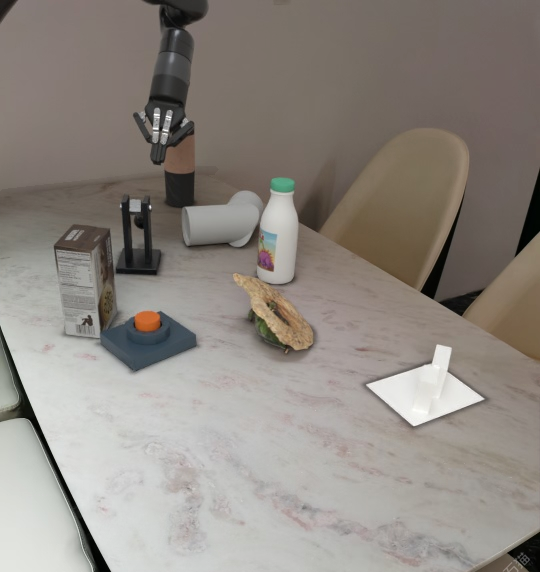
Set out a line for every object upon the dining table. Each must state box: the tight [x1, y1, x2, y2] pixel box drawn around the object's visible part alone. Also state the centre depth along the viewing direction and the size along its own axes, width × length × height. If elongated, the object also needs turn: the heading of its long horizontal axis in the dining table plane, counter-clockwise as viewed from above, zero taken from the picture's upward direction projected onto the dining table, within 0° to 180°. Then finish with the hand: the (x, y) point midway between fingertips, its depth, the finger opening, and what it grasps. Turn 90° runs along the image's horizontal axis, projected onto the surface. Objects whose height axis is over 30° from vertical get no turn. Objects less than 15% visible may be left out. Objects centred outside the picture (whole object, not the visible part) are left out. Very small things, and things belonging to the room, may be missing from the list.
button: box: [134, 310, 160, 332], centre depth 96 cm, size 4×4×2 cm
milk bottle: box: [256, 176, 299, 285], centre depth 117 cm, size 8×8×20 cm
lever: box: [129, 198, 144, 230], centre depth 122 cm, size 13×4×4 cm
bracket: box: [115, 193, 162, 276], centre depth 120 cm, size 10×8×14 cm
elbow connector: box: [181, 190, 265, 248], centre depth 135 cm, size 18×11×20 cm
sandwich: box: [232, 272, 314, 354], centre depth 104 cm, size 18×14×8 cm
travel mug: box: [163, 120, 196, 208], centre depth 150 cm, size 8×8×20 cm
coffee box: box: [53, 223, 118, 339], centre depth 98 cm, size 9×6×16 cm
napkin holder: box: [365, 344, 485, 427], centre depth 91 cm, size 15×11×6 cm
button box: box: [99, 310, 197, 372], centre depth 97 cm, size 12×10×4 cm
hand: (156, 163), depth 122 cm, fingers closed
